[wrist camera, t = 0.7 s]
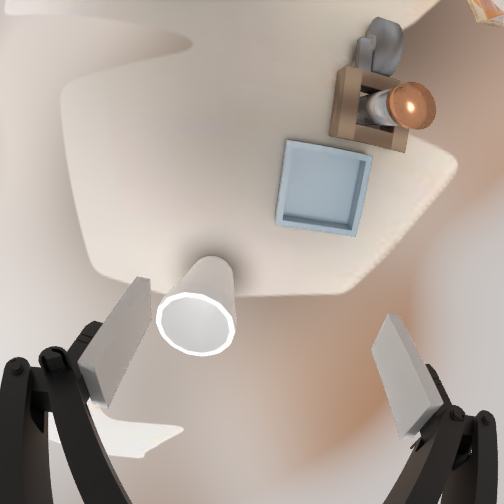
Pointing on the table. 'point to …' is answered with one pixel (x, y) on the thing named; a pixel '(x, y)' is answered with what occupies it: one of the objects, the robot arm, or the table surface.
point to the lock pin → (398, 107)
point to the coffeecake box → (488, 11)
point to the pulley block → (369, 86)
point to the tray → (322, 188)
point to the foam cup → (200, 309)
